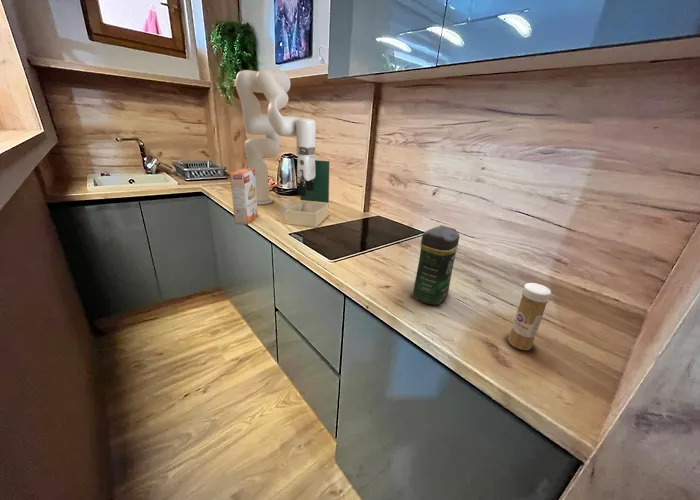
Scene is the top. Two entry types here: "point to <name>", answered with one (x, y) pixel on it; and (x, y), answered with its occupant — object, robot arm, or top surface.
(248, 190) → the cracker box
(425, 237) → the coffee jar
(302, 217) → the book box
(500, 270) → the top surface
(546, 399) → the top surface
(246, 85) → the robot arm
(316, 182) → the book cover
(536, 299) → the sprinkles bottle
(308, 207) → the egg
